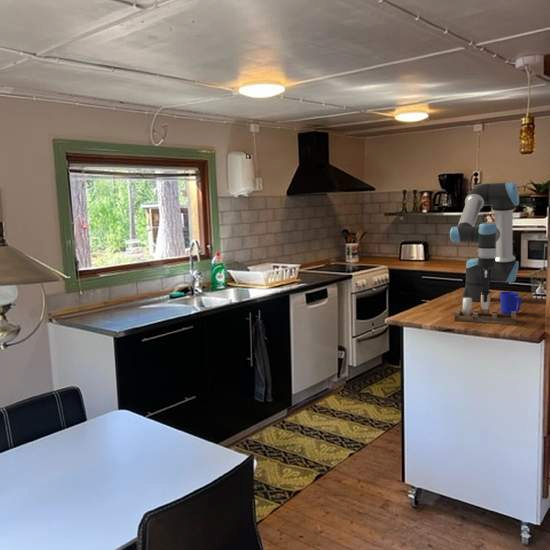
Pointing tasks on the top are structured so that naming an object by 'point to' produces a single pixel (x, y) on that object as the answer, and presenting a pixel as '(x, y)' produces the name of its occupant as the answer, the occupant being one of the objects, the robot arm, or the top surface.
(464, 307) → the plug grey
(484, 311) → the plug terracotta
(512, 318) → the comb rack
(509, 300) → the mug
